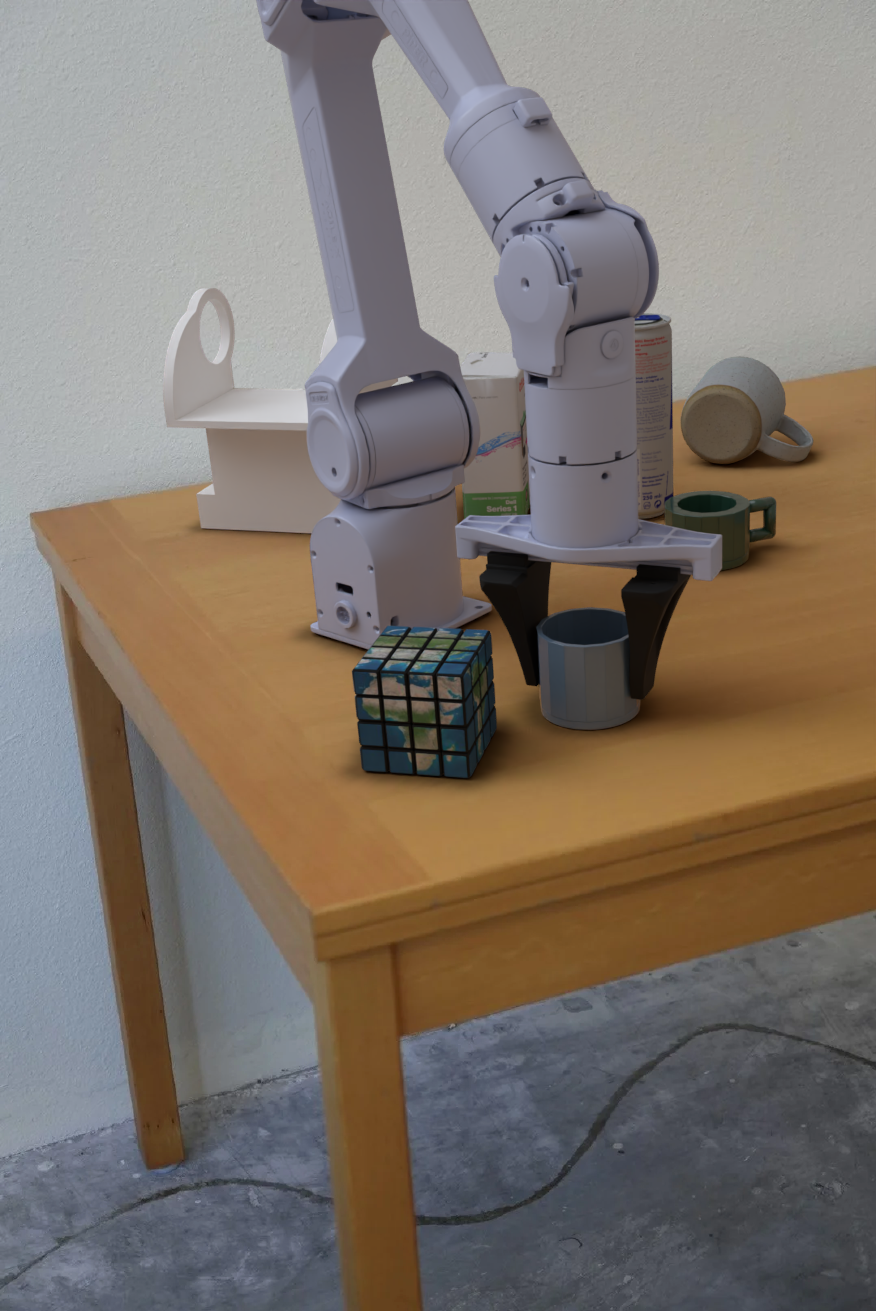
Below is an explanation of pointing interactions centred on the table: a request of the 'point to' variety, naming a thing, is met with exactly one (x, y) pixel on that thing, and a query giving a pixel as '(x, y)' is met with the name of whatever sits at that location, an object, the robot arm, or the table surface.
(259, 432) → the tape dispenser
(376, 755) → the puzzle
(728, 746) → the table surface
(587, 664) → the blue cup
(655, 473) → the beverage can
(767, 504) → the green mug
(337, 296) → the robot arm
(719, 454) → the ceramic mug
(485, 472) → the ink box
